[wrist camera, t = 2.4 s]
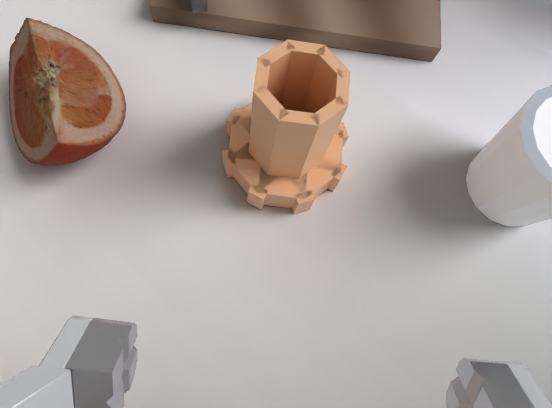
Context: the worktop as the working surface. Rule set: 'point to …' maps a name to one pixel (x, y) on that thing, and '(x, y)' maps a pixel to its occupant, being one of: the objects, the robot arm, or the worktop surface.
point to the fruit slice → (61, 96)
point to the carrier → (319, 22)
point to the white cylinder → (517, 167)
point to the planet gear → (290, 127)
